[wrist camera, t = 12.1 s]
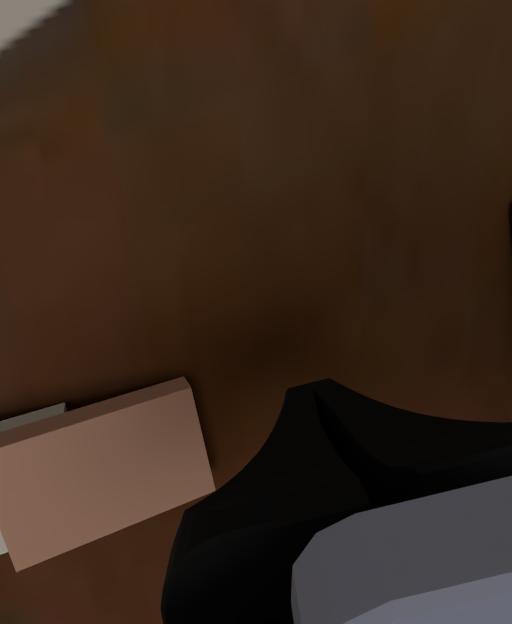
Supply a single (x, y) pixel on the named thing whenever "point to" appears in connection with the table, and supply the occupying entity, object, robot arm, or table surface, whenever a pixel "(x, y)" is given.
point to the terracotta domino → (99, 470)
